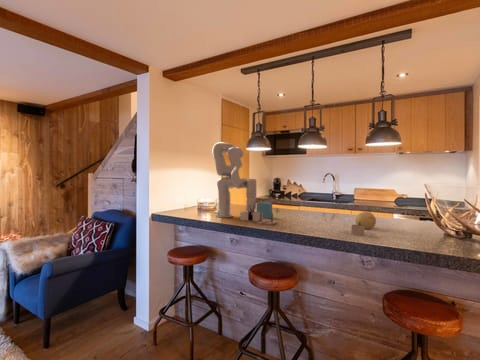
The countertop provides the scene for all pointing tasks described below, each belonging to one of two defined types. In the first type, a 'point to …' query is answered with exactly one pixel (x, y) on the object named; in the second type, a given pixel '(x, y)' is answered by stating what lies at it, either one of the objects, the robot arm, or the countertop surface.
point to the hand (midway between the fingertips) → (251, 219)
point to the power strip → (255, 214)
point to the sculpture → (366, 220)
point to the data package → (265, 209)
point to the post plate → (266, 221)
